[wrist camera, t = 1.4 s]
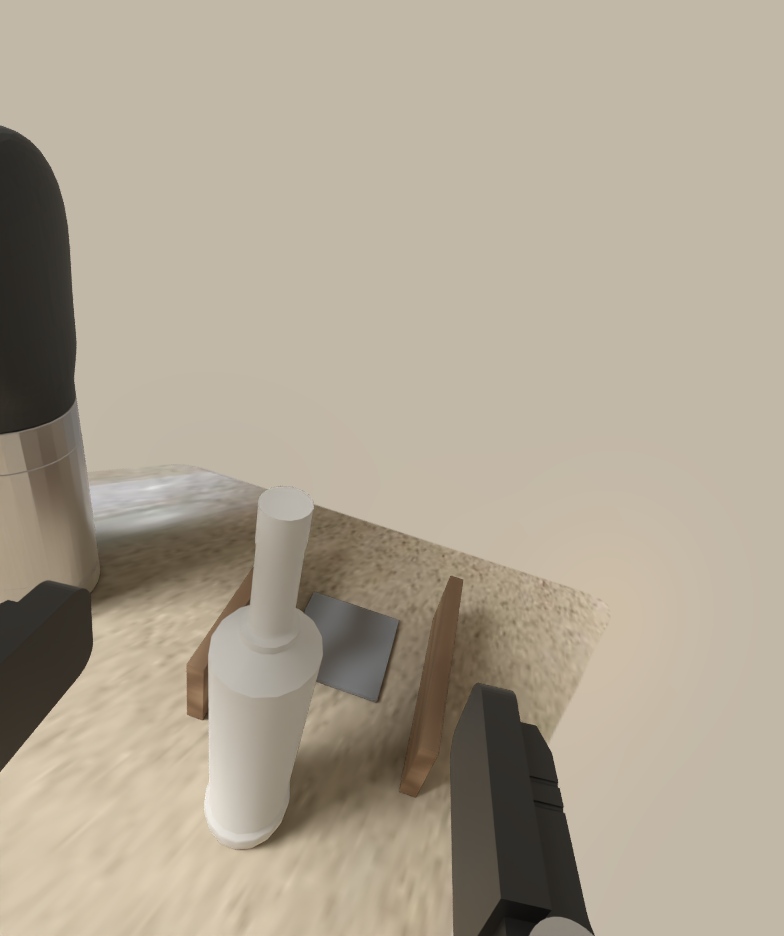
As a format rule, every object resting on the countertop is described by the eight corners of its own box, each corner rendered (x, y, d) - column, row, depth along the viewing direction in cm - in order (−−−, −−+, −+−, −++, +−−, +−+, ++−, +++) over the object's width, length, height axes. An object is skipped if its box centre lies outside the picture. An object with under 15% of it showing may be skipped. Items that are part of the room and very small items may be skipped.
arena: (187, 714, 36) (186, 664, 32) (278, 567, 49) (284, 521, 46) (415, 797, 34) (438, 753, 31) (445, 622, 48) (463, 579, 45)
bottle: (240, 749, 34) (270, 448, 21) (303, 789, 33) (377, 498, 20) (184, 823, 30) (179, 508, 17) (254, 873, 29) (307, 575, 16)
